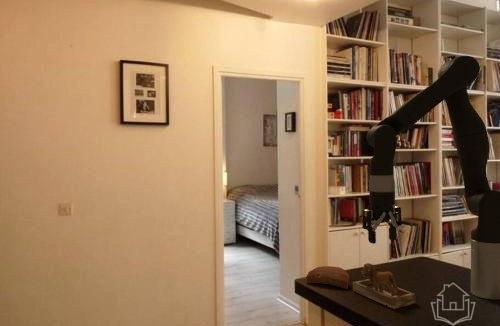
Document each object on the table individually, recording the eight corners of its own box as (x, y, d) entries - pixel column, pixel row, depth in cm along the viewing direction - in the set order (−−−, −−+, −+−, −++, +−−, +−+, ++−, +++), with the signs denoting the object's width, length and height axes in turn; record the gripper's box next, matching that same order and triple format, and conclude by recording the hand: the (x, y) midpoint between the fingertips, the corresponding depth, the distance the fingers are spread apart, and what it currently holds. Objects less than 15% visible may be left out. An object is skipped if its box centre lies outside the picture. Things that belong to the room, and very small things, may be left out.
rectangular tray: (373, 286, 131) (373, 278, 131) (415, 303, 116) (415, 293, 116) (352, 290, 127) (352, 282, 127) (393, 308, 112) (393, 299, 112)
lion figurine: (361, 292, 125) (357, 264, 126) (373, 289, 127) (368, 261, 129) (398, 297, 112) (393, 265, 114) (410, 293, 115) (405, 262, 116)
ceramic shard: (358, 263, 140) (347, 281, 127) (356, 280, 142) (346, 299, 129) (319, 254, 147) (305, 270, 134) (317, 269, 148) (304, 287, 135)
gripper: (373, 192, 114) (374, 246, 114) (407, 189, 121) (408, 241, 121) (356, 190, 121) (356, 242, 121) (389, 187, 127) (389, 236, 128)
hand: (382, 241), depth 121 cm, fingers open, 8 cm apart
